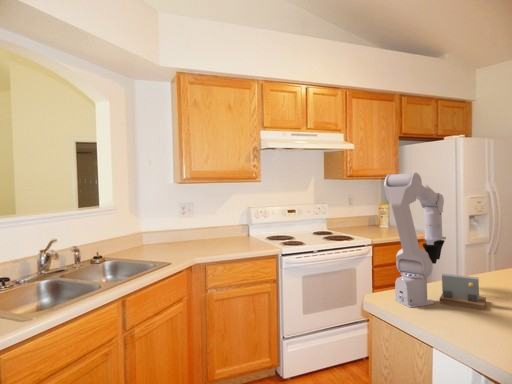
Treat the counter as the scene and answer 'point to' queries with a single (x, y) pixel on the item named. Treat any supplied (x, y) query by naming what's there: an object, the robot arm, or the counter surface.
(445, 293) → the short dark cabinet legs
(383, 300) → the counter surface
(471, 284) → the grey rectangular block
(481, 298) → the cabinet base
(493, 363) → the counter surface
